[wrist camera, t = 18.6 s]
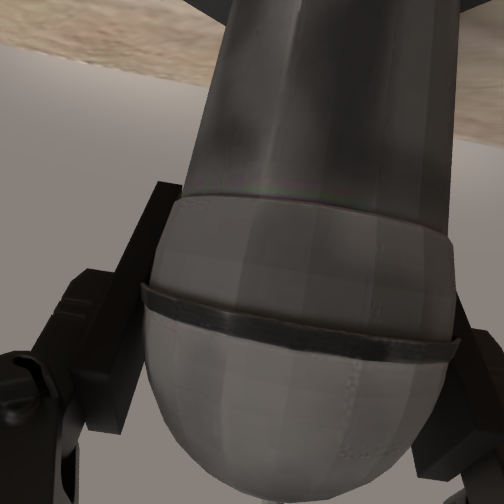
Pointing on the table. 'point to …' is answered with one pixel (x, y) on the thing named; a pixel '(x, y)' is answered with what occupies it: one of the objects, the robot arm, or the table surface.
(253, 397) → the beverage cup
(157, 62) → the table surface
